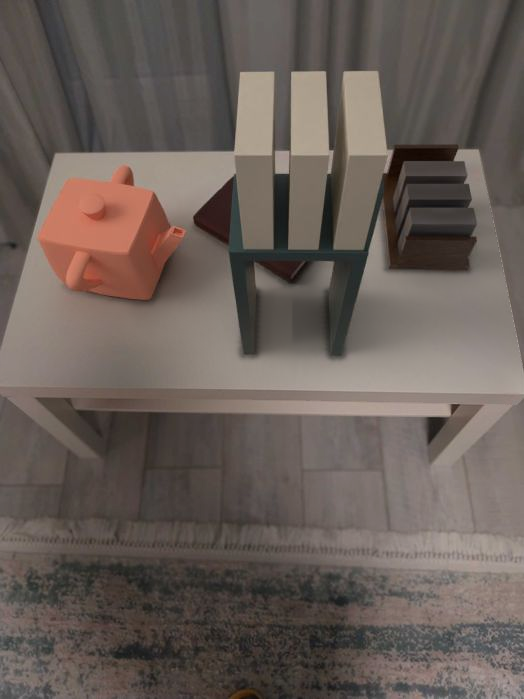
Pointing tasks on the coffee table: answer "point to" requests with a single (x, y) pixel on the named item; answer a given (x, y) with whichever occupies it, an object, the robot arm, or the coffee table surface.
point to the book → (217, 223)
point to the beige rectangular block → (256, 158)
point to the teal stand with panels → (321, 197)
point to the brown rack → (427, 209)
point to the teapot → (108, 237)
